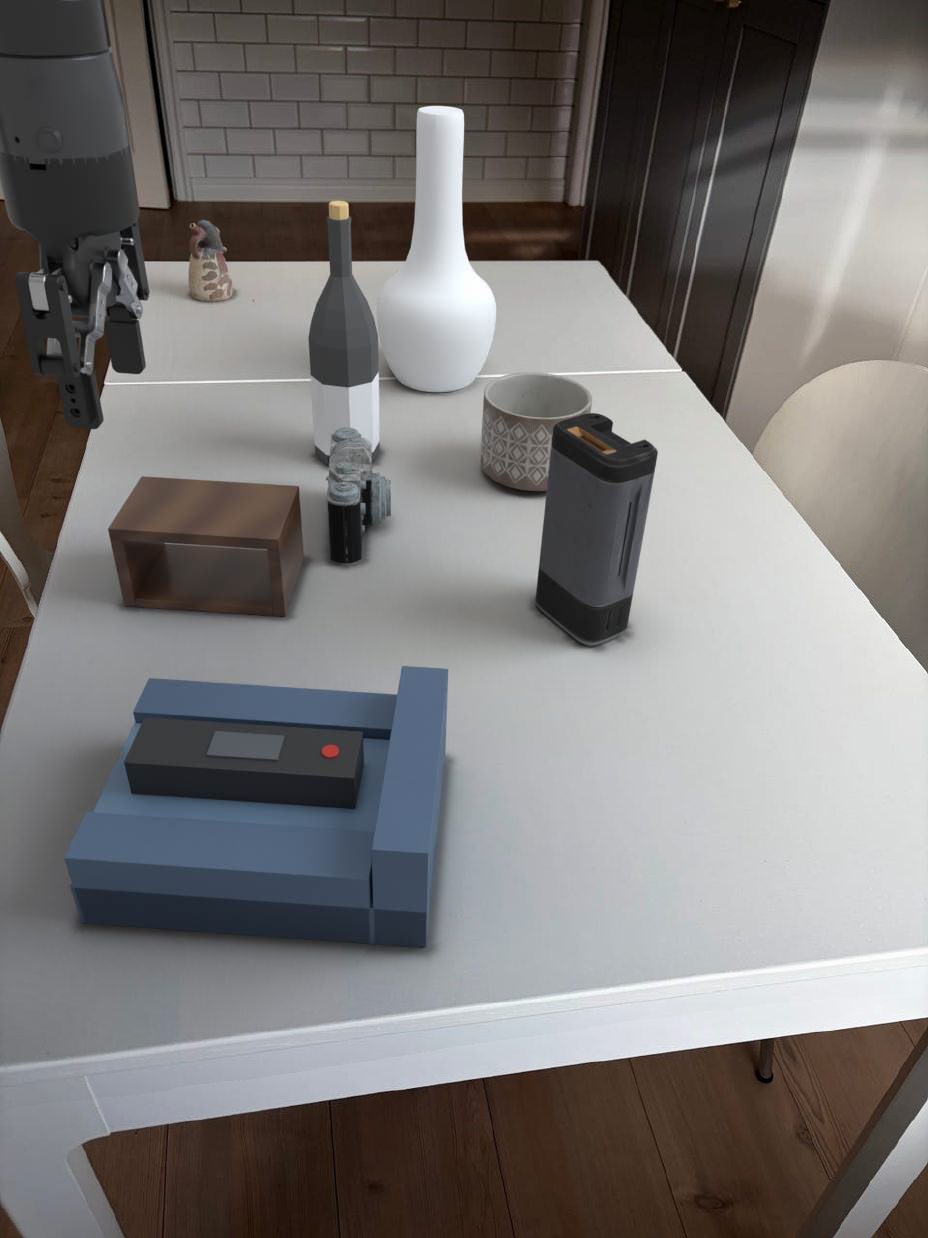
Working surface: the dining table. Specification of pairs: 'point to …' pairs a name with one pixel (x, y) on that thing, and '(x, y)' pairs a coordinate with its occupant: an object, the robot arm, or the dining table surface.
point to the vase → (437, 273)
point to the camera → (353, 495)
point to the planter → (526, 425)
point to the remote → (246, 763)
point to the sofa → (277, 826)
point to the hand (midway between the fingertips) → (109, 397)
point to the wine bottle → (343, 348)
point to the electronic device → (593, 527)
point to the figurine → (208, 264)
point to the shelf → (206, 571)
